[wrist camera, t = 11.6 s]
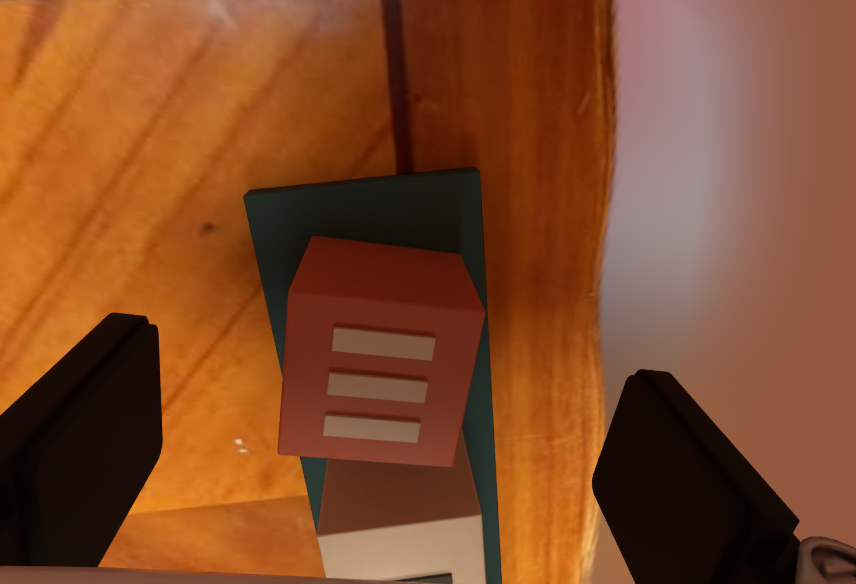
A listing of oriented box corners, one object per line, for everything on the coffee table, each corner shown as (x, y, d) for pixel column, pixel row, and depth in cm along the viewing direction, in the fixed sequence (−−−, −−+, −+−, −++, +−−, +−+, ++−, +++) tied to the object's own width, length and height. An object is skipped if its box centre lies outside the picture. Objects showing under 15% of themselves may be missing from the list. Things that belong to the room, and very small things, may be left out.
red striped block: (311, 234, 16) (287, 290, 12) (460, 253, 17) (487, 312, 13) (300, 368, 18) (276, 458, 14) (437, 380, 19) (454, 471, 14)
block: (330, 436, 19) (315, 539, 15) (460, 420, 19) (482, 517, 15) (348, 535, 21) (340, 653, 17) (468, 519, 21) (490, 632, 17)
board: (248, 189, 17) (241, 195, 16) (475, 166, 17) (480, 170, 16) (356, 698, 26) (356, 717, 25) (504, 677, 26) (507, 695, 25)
